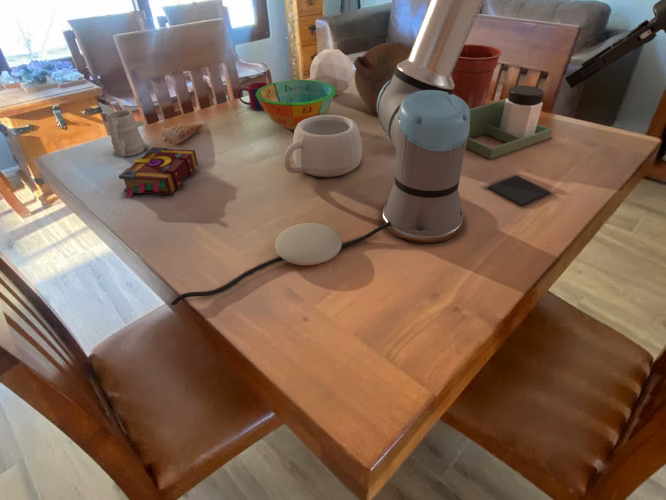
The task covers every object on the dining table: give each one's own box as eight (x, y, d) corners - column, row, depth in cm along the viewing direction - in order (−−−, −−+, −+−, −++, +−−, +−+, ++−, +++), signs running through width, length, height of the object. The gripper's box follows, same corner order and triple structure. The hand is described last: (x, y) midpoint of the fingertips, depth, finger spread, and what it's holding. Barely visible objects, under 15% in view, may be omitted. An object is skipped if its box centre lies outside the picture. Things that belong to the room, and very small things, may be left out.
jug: (356, 101, 140) (374, 154, 120) (345, 41, 126) (364, 90, 105) (417, 85, 139) (446, 135, 119) (413, 23, 124) (445, 68, 104)
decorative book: (199, 166, 105) (195, 147, 102) (169, 199, 93) (163, 179, 90) (157, 163, 107) (151, 145, 104) (121, 196, 94) (114, 176, 91)
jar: (517, 144, 111) (529, 97, 103) (492, 134, 116) (502, 89, 109) (539, 136, 114) (552, 90, 107) (513, 127, 120) (524, 83, 113)
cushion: (278, 231, 82) (277, 218, 80) (341, 229, 82) (340, 216, 80) (272, 272, 73) (270, 258, 71) (343, 270, 73) (343, 256, 71)
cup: (270, 110, 135) (267, 88, 131) (239, 111, 135) (235, 89, 131) (272, 103, 141) (270, 81, 137) (242, 104, 141) (239, 82, 137)
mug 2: (328, 144, 114) (327, 107, 107) (376, 163, 104) (377, 123, 98) (264, 171, 102) (258, 131, 96) (311, 196, 92) (308, 153, 86)
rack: (490, 159, 104) (496, 127, 100) (453, 141, 113) (458, 111, 108) (549, 138, 113) (558, 108, 108) (511, 123, 122) (518, 95, 117)
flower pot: (481, 118, 126) (493, 60, 116) (429, 109, 133) (435, 54, 123) (496, 101, 137) (508, 47, 127) (447, 94, 144) (454, 42, 134)
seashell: (159, 149, 113) (154, 131, 110) (199, 125, 127) (195, 108, 124) (173, 152, 112) (168, 133, 109) (212, 126, 126) (208, 109, 123)
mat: (521, 206, 87) (522, 204, 87) (487, 188, 93) (488, 186, 93) (550, 194, 91) (550, 191, 90) (515, 177, 97) (516, 175, 97)
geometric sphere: (323, 111, 148) (295, 78, 139) (334, 83, 155) (308, 50, 146) (356, 96, 139) (328, 59, 130) (366, 67, 146) (339, 30, 137)
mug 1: (149, 143, 117) (135, 99, 109) (137, 163, 107) (122, 116, 100) (120, 145, 116) (105, 101, 109) (106, 165, 107) (88, 118, 100)
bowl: (351, 128, 122) (351, 92, 116) (283, 148, 112) (279, 110, 106) (310, 107, 137) (308, 74, 131) (247, 123, 127) (242, 88, 121)
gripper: (686, 35, 76) (570, 104, 92) (701, 14, 91) (598, 76, 107) (664, -1, 75) (551, 74, 92) (683, -17, 90) (583, 50, 107)
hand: (576, 75), depth 100 cm, fingers open, 13 cm apart
